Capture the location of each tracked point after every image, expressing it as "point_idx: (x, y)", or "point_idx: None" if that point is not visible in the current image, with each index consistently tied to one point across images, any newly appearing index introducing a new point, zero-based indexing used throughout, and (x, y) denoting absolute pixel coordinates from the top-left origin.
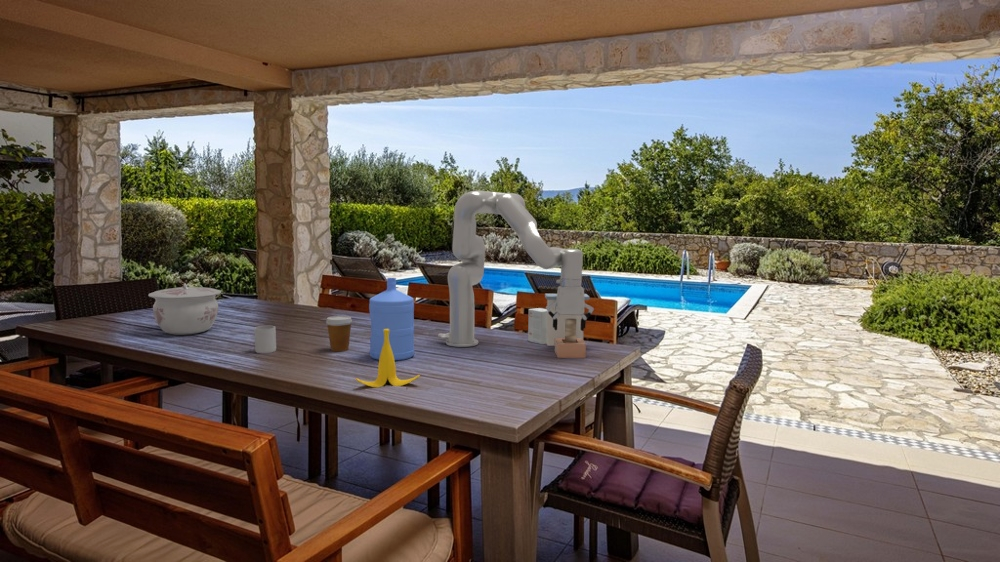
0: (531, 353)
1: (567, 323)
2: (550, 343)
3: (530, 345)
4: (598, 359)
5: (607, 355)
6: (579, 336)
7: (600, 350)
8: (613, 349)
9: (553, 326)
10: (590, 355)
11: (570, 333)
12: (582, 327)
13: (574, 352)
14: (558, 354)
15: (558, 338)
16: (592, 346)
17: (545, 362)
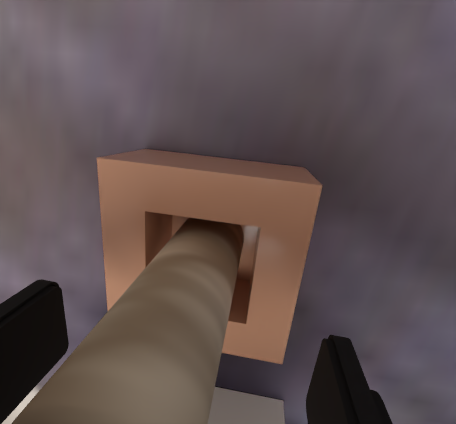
0: (423, 282)
1: (183, 380)
2: (267, 408)
3: None
4: (79, 103)
5: (31, 191)
6: None
7: None
8: (6, 295)
9: (375, 397)
10: None
11: (184, 269)
12: (21, 302)
13: (198, 159)
14: (301, 170)
15: (260, 351)
16: None
17: (433, 36)
